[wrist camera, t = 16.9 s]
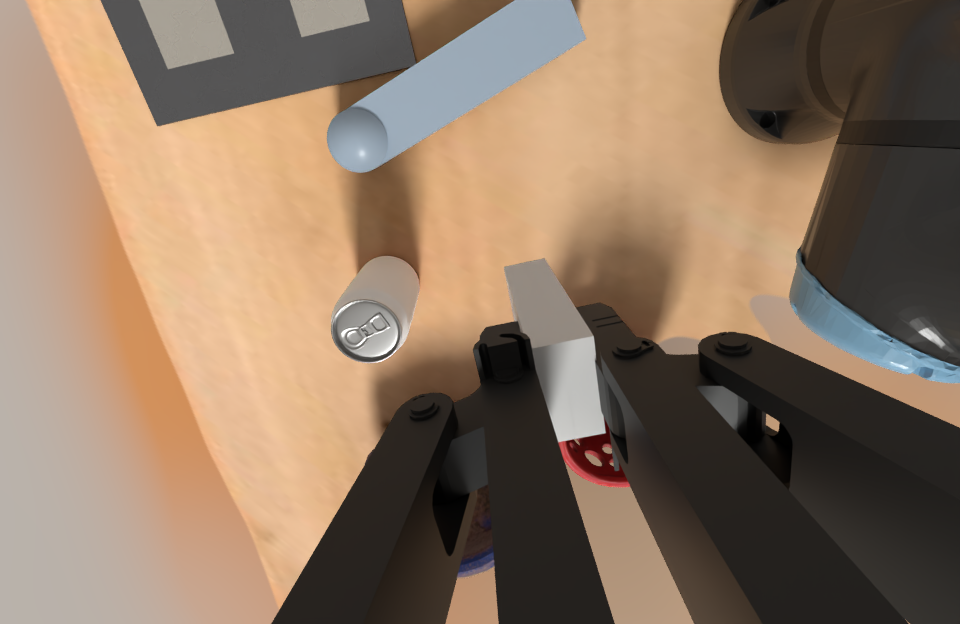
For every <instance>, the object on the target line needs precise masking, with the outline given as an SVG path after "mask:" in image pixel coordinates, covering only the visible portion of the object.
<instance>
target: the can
mask: <svg viewBox="0 0 960 624" xmlns="http://www.w3.org/2000/svg"><path fill="white" fill-rule="evenodd" d="M419 289H420V285H419V279H418V276H417V274H416V272H415V271H414V269H413V268H412V267H411V266H410V265H409V264H408V263H407V262H405V261H404V260H402V259H400V258H397V257H393V256H380V257H376V258H374V259H372V260H370V261H369V262H367V263H366V264H365V265H364V266H363V267H362V269H361V270H360V271H359V272H358V274H357V275H356V277H355V278H354V279H353V281H352V282H351V283H350V285H349V286H348V287H347V289H346V290H345V292H344V293H343V294H342V296H341V297H340V299H339V300H338V302H337V303H336V305H335V307H334V310H333V313H332V318H331V334H332V338H333V341H334V343H335V345H336V346H337V348H338V349H339V350H340V351H341V352H342V353H343V354H344V355H346V356H347V357H349V358H350V359H353V360H355V361H358V362H362V363H376V362H380V361H383V360H385V359H387V358H389V357H390V356H391V355H393V354H394V353H395V352H396V351H397V350H398V349H399V348H400V347H401V346H402V345H403V343H404V342H405V340H406V338H407V335H408V333H409V329H410V326H411V322H412V319H413V315H414V311H415V307H416V303H417V300H418V295H419Z"/></svg>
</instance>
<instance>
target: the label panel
mask: <svg viewBox="0 0 960 624" xmlns="http://www.w3.org/2000/svg"><path fill="white" fill-rule="evenodd" d="M101 2H102V4H103V7H104V9H105V11H106V13H107V15H108V18H109V20H110V22H111V24H112V27H113V29H114V31H115V33H116V35H117V38H118V40H119V42H120V44H121V47H122V49H123V51H124V53H125V55H126V58H127V60H128V62H129V64H130V67H131V69H132V71H133V73H134V76H135V78H136V80H137V82H138V84H139V87H140V89H141V91H142V93H143V96H144V98H145V100H146V102H147V104H148V107H149V109H150V111H151V113H152V116H153V118H154V120H155V122H156V124H157V126H161V125H166V124H170V123H174V122H178V121H183V120H187V119H191V118H195V117H200V116H204V115H208V114H213V113H217V112H221V111H225V110H230V109H234V108H238V107H242V106H247V105H251V104H255V103H260V102H264V101H268V100H272V99H277V98H281V97H285V96H289V95H294V94H298V93H302V92H306V91H311V90H315V89H319V88H324V87H328V86H332V85H336V84H341V83H345V82H349V81H353V80H358V79H362V78H366V77H370V76H375V75H379V74H383V73H388V72H392V71H396V70H400V69H405V68H409V67H412V66H414V65H415V64H416V60H415V56H414V52H413V48H412V43H411V39H410V35H409V30H408V26H407V22H406V17H405V13H404V9H403V5H402V0H101Z"/></svg>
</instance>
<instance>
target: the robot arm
mask: <svg viewBox="0 0 960 624" xmlns="http://www.w3.org/2000/svg"><path fill="white" fill-rule="evenodd" d="M720 86H721V92H722V96H723V99H724V102H725V105H726V107H727V109H728V111H729V113H730V115H731V116H732V118H733V119H734V121H735V122H736V123H737V124H738V125H739V126H740V127H741V128H742V129H743V130H744V131H745V132H747V133H748V134H750V135H751V136H753V137H755V138H757V139H760V140H763V141H766V142H770V143H778V144H806V143H812V142H817V141H821V140H824V139H827V138H830V137H832V136H835V135H837V134H839V136H838V139H837V142H836V144H835V147H834V150H833V153H832V156H831V159H830V162H829V165H828V169H827V172H826V175H825V178H824V181H823V184H822V187H821V190H820V193H819V196H818V199H817V202H816V205H815V208H814V211H813V214H812V217H811V220H810V223H809V226H808V229H807V231H806V234H805V237H804V240H803V243H802V245H801V247H800V248H799V249H798V251H797V253H796V262H797V266H796V270H795V273H794V277H793V281H792V285H791V288H790V295H789V298H790V303H791V306H792V308H793V310H794V312H795V313H796V315H797V316H798V317H799V319H800V320H801V321H802V322H803V324H804V325H806V326H807V327H808V328H809V329H810V330H811V331H813V332H814V333H815V334H817V335H818V336H820V337H821V338H823V339H824V340H826V341H828V342H829V343H831V344H833V345H834V346H836V347H838V348H840V349H842V350H844V351H846V352H848V353H850V354H852V355H854V356H856V357H859V358H861V359H864V360H866V361H868V362H871V363H873V364H876V365H878V366H881V367H884V368H886V369H889V370H892V371H895V372H899V373H903V374H911V373H914V374H916V375H919V376H921V377H923V378H925V379H927V380H931V381H937V382H944V383H960V0H743V1H742V3H741V5H740V6H739V8H738V9H737V11H736V13H735V15H734V17H733V19H732V21H731V23H730V25H729V28H728V30H727V33H726V36H725V39H724V43H723V47H722V52H721V58H720ZM853 144H855V145H853ZM504 271H505V276H506V281H507V286H508V291H509V296H510V301H511V306H512V312H513V317H514V322H510V323H505V324H500V325H495V326H490V327H486V328H485V329H484V331H483V332H482V334H481V335H480V340H479V341H478V342H477V343H476V344H475V346H474V349H473V352H474V356H475V361H476V365H477V369H478V373H479V377H480V382H481V386H480V387H479V388H478V389H477V390H476V392H474V393H473V394H471V395H470V396H468V397H466V398H464V399H462V400H460V401H457V402H455V403H453V401H452V400H451V398H450V397H449V396H447V395H445V394H442V393H428V394H421V395H418V396H416V397H414V398H412V399H410V400H409V401H407V402H406V403H404V404H403V405H402V406H401V407H400V408H399V409H398V410H397V411H396V413H395V415H394V417H393V418H392V420H391V422H390V423H389V425H388V427H387V428H386V430H385V432H384V434H383V435H382V437H381V439H380V440H379V442H378V444H377V445H376V447H375V449H374V450H373V452H372V454H371V456H370V457H369V459H368V461H367V462H366V464H365V466H364V467H363V469H362V471H361V473H360V474H359V476H358V478H357V479H356V481H355V483H354V484H353V486H352V488H351V490H350V491H349V493H348V495H347V496H346V498H345V500H344V501H343V503H342V505H341V506H340V508H339V510H338V512H337V513H336V515H335V517H334V518H333V520H332V522H331V523H330V525H329V527H328V529H327V530H326V532H325V534H324V535H323V537H322V539H321V540H320V542H319V544H318V545H317V547H316V549H315V551H314V552H313V554H312V556H311V557H310V559H309V561H308V562H307V564H306V566H305V568H304V569H303V571H302V573H301V574H300V576H299V578H298V579H297V581H296V583H295V585H294V586H293V588H292V590H291V591H290V593H289V595H288V596H287V598H286V600H285V601H284V603H283V605H282V607H281V608H280V610H279V612H278V613H277V615H276V617H275V618H274V620H273V622H272V624H445V623H446V619H447V615H448V611H449V607H450V603H451V599H452V595H453V591H454V587H455V584H456V580H457V576H458V572H459V568H460V564H461V560H462V556H463V552H464V549H465V545H466V541H467V537H468V533H469V529H470V525H471V521H472V517H473V513H474V509H475V505H476V502H477V489H479V488H481V487H483V486H485V485H488V488H489V501H490V514H491V528H492V541H493V554H494V567H495V580H496V594H497V606H498V619H499V624H615V623H614V620H613V617H612V614H611V610H610V607H609V604H608V601H607V598H606V594H605V591H604V588H603V585H602V582H601V578H600V575H599V572H598V568H597V565H596V562H595V559H594V556H593V552H592V549H591V546H590V543H589V540H588V536H587V533H586V530H585V527H584V523H583V520H582V517H581V514H580V510H579V507H578V504H577V501H576V498H575V494H574V491H573V488H572V485H571V481H570V478H569V475H568V472H567V469H566V465H565V462H564V459H563V456H562V452H561V449H560V446H559V443H558V442H562V441H567V440H572V439H578V438H583V437H588V436H593V435H598V434H604V433H606V432H605V424H604V418H605V420H606V422H607V424H608V426H609V429H610V438H611V446H612V454H613V463H614V470H615V471H619V463H620V465H621V467H622V469H623V472H624V474H625V476H626V478H627V480H628V482H629V484H630V487H631V488H632V491H633V493H634V495H635V497H636V499H637V502H638V504H639V506H640V508H641V510H642V512H643V514H644V517H645V519H646V521H647V523H648V525H649V527H650V529H651V531H652V534H653V536H654V538H655V540H656V542H657V545H658V547H659V549H660V551H661V553H662V555H663V557H664V560H665V562H666V564H667V566H668V568H669V570H670V572H671V575H672V576H673V579H674V581H675V583H676V585H677V587H678V590H679V592H680V594H681V596H682V598H683V600H684V603H685V604H686V606H687V609H688V611H689V613H690V615H691V617H692V620H693V622H694V624H908V623H907V621H908V622H909V623H910V624H960V428H959V427H957V426H954V425H952V424H950V423H948V422H945V421H943V420H941V419H939V418H937V417H934V416H932V415H930V414H928V413H925V412H923V411H921V410H919V409H916V408H914V407H912V406H910V405H907V404H905V403H903V402H901V401H899V400H896V399H894V398H891V397H890V396H887V395H885V394H883V393H881V392H879V391H876V390H874V389H872V388H870V387H867V386H865V385H863V384H861V383H858V382H856V381H854V380H851V379H849V378H847V377H845V376H843V375H841V374H838V373H836V372H834V371H832V370H829V369H827V368H825V367H823V366H820V365H818V364H816V363H814V362H811V361H809V360H807V359H805V358H802V357H800V356H798V355H796V354H794V353H791V352H789V351H787V350H785V349H782V348H780V347H778V346H776V345H773V344H771V343H769V342H767V341H765V340H762V339H760V338H758V337H755V336H751V335H748V334H742V333H737V332H728V333H727V332H722V333H719V334H714V335H710V336H708V337H706V338H704V339H702V340H701V342H700V343H699V345H698V354H691V355H669V354H666V353H665V352H664V351H663V350H662V349H661V348H660V347H659V345H657V344H656V343H655V342H653V341H652V340H648V339H645V338H639V337H636V336H635V335H634V334H633V333H632V332H631V330H630V329H629V328H628V327H627V326H626V324H625V323H624V322H623V321H622V320H621V318H620V317H619V316H618V315H617V314H616V312H615V311H614V310H613V309H612V308H611V307H609V306H606V305H604V304H601V303H596V304H591V305H586V306H581V307H575V306H574V304H573V303H572V301H571V299H570V298H569V296H568V295H567V293H566V292H565V290H564V288H563V287H562V285H561V284H560V282H559V280H558V279H557V277H556V276H555V274H554V273H553V271H552V269H551V268H550V266H549V265H548V263H547V262H546V260H545V258H543V259H539V260H534V261H529V262H525V263H520V264H515V265H510V266H506V267H504ZM766 413H767V414H768V415H770V416H772V417H773V418H775V419H776V420H778V421H779V422H780V424H779V431H778V432H777V431H775V430H773V429H771V428H770V427H768V426H766ZM906 620H907V621H906Z"/></svg>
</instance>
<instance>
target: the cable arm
mask: <svg viewBox="0 0 960 624" xmlns="http://www.w3.org/2000/svg"><path fill="white" fill-rule="evenodd" d="M585 39H586V37H585V34H584V32H583V29H582V27H581V24H580V22H579V19H578V17H577V14H576V12H575V9H574V7H573V4H572V2H571V0H514V1H513V2H511V3H510V4H508V5H507V6H505V7H503V8H502V9H500V10H499V11H497V12H496V13H494V14H493V15H491V16H489V17H488V18H486V19H485V20H483V21H482V22H480V23H479V24H477V25H476V26H474V27H472V28H471V29H469V30H468V31H466V32H465V33H463V34H462V35H460V36H459V37H457V38H455V39H454V40H452V41H451V42H449V43H448V44H446V45H445V46H443V47H442V48H440V49H438V50H437V51H435V52H434V53H432V54H431V55H429V56H428V57H426V58H425V59H423V60H421V61H420V62H418V63H417V64H415V65H414V66H412V67H411V68H409V69H408V70H406V71H404V72H403V73H401V74H400V75H398V76H397V77H395V78H394V79H392V80H390V81H389V82H387V83H386V84H384V85H383V86H381V87H380V88H378V89H377V90H375V91H373V92H372V93H370V94H369V95H367V96H366V97H364V98H363V99H361V100H360V101H358V102H356V103H355V104H353V105H352V106H350V107H349V108H347V109H346V110H344V111H342V112H340V113H339V114H338V115H336V116H335V117H334V118H333V120H332V121H331V123H330V125H329V128H328V132H327V143H328V147H329V150H330V153H331V154H332V156H333V158H334V159H335V160H336V161H337V163H338V164H340V165H341V166H342V167H344V168H345V169H347V170H350V171H352V172H359V173H362V172H368V171H371V170H373V169H375V168H378V167H379V166H381V165H383V164H384V163H386V162H388V161H389V160H391V159H392V158H394V157H396V156H397V155H399V154H401V153H402V152H404V151H406V150H407V149H409V148H410V147H412V146H414V145H415V144H417V143H419V142H420V141H422V140H423V139H425V138H427V137H428V136H430V135H432V134H433V133H435V132H436V131H438V130H440V129H441V128H443V127H445V126H446V125H448V124H450V123H451V122H453V121H454V120H456V119H458V118H459V117H461V116H463V115H464V114H466V113H467V112H469V111H471V110H472V109H474V108H476V107H477V106H479V105H480V104H482V103H484V102H485V101H487V100H489V99H490V98H492V97H493V96H495V95H497V94H498V93H500V92H502V91H503V90H505V89H507V88H508V87H510V86H511V85H513V84H515V83H516V82H518V81H520V80H521V79H523V78H524V77H526V76H528V75H529V74H531V73H533V72H534V71H536V70H537V69H539V68H541V67H542V66H544V65H546V64H547V63H549V62H551V61H552V60H554V59H555V58H557V57H559V56H560V55H562V54H564V53H565V52H567V51H568V50H570V49H572V48H573V47H575V46H577V45H578V44H580V43H581V42H582V41H584V40H585Z"/></svg>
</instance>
